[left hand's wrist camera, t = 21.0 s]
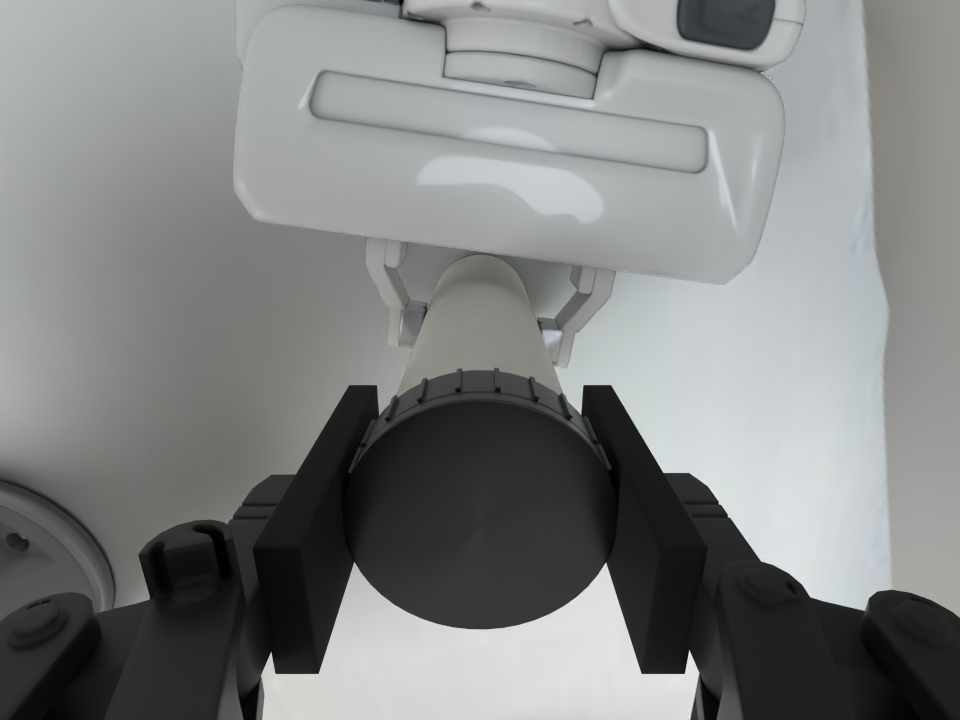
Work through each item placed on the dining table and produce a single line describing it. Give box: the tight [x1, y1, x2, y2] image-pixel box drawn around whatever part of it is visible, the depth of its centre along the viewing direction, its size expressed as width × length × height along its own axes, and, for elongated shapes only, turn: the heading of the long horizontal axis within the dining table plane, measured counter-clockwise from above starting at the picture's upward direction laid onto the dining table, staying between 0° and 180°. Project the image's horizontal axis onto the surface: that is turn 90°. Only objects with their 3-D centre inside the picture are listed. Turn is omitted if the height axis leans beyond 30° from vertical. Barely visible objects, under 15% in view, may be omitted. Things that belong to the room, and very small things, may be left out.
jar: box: [396, 255, 563, 397], centre depth 20 cm, size 5×5×18 cm
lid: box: [342, 368, 618, 629], centre depth 12 cm, size 6×6×2 cm
